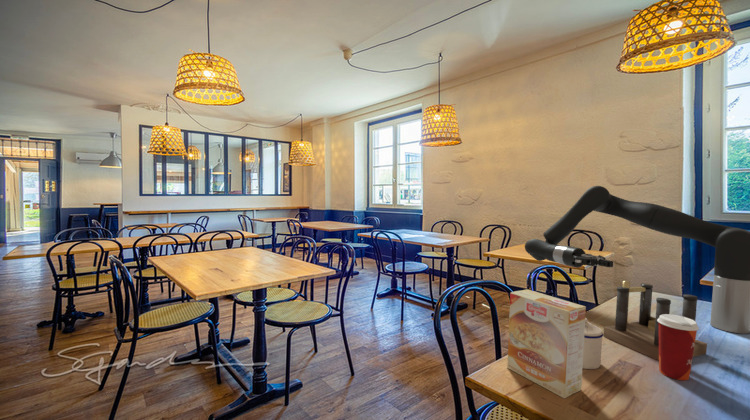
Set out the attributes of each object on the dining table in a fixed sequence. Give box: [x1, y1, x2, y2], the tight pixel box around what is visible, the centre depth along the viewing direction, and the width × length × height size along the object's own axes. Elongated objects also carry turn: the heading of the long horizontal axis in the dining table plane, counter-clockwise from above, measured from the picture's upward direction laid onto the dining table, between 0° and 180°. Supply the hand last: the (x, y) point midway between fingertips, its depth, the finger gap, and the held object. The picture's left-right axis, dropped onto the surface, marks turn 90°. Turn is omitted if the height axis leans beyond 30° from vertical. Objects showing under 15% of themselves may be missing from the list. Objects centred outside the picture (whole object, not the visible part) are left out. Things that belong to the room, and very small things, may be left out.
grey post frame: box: [621, 280, 654, 326], centre depth 107 cm, size 10×3×14 cm, turn 102°
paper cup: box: [657, 313, 700, 382], centre depth 84 cm, size 8×8×14 cm
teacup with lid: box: [582, 317, 604, 370], centre depth 91 cm, size 12×9×12 cm
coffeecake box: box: [506, 288, 587, 399], centre depth 81 cm, size 15×7×20 cm, turn 31°
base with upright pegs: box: [603, 286, 708, 361], centre depth 101 cm, size 17×17×16 cm
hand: (611, 264), depth 118 cm, fingers closed
